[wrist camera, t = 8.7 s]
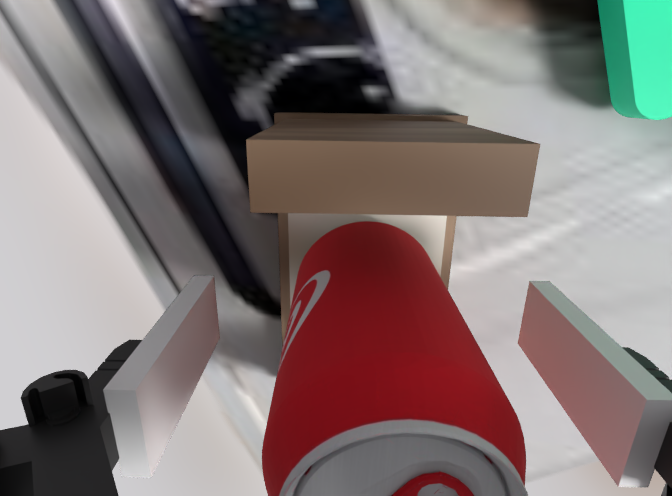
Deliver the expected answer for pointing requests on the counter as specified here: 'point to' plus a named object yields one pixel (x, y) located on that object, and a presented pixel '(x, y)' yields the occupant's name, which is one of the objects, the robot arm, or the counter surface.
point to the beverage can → (385, 381)
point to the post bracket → (382, 179)
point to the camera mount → (638, 56)
